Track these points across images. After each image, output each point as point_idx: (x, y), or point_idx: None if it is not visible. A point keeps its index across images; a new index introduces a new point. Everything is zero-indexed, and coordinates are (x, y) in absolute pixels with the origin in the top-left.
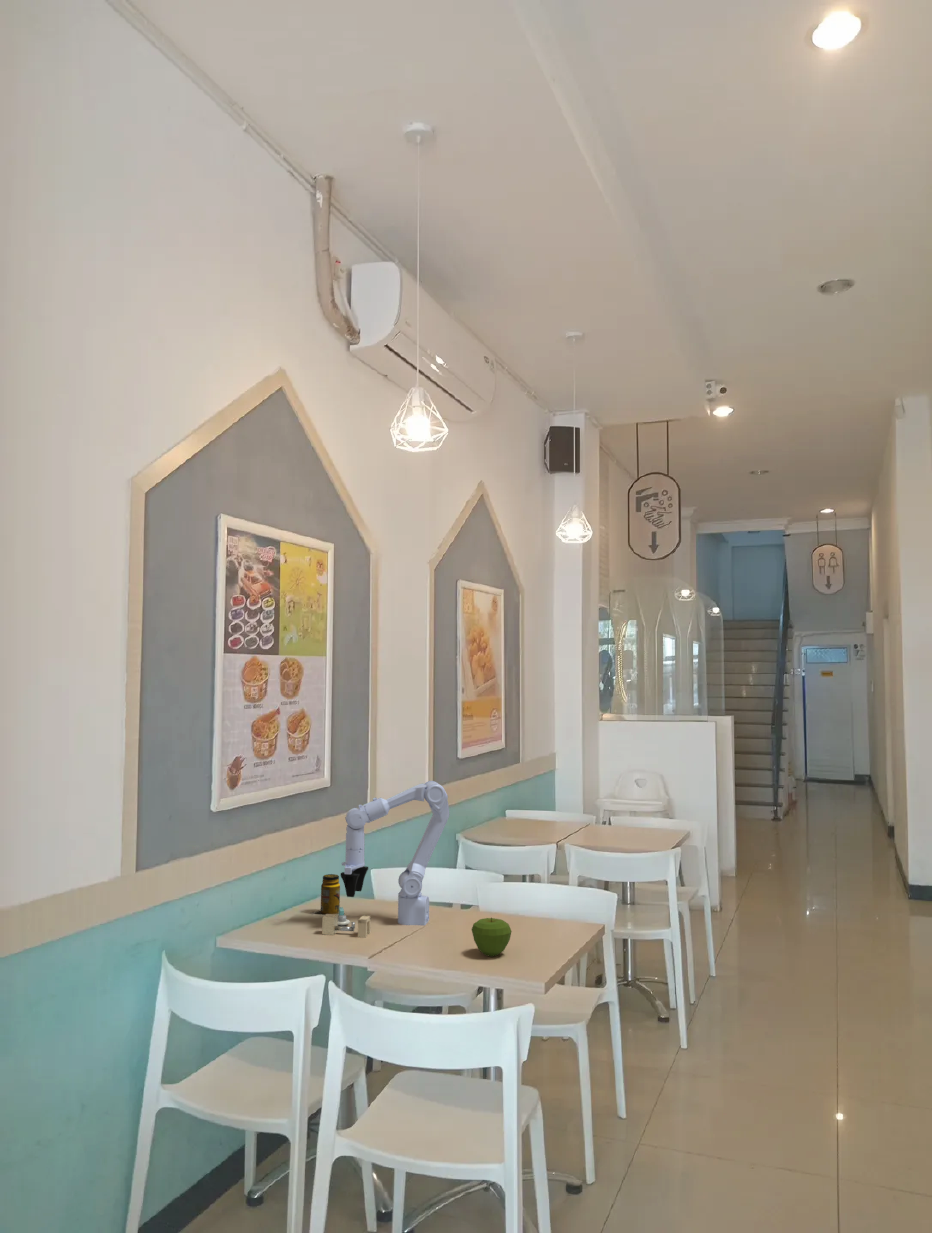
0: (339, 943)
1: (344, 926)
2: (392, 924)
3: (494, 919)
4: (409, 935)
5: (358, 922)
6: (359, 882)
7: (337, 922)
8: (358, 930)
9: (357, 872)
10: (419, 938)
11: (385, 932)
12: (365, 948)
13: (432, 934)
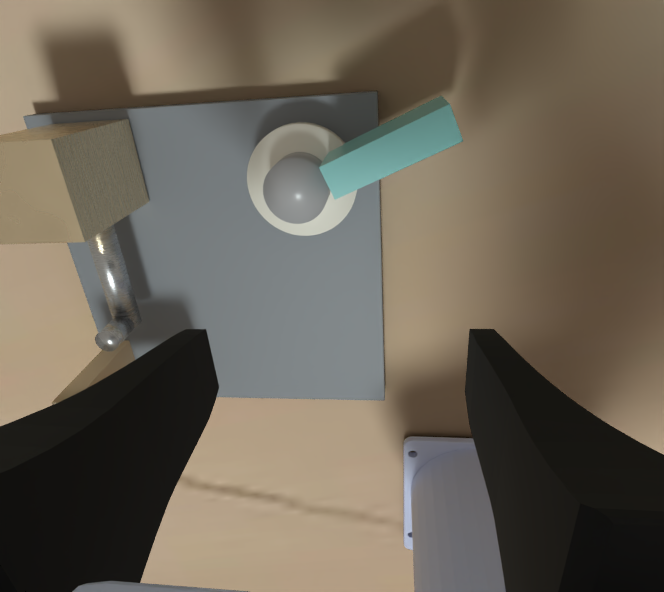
0: (24, 264)
1: (107, 274)
2: (466, 417)
3: None
4: (288, 506)
5: (63, 393)
6: (488, 450)
7: (113, 221)
8: (93, 364)
9: (529, 561)
10: (259, 539)
11: (302, 416)
12: (28, 393)
13: (332, 569)
